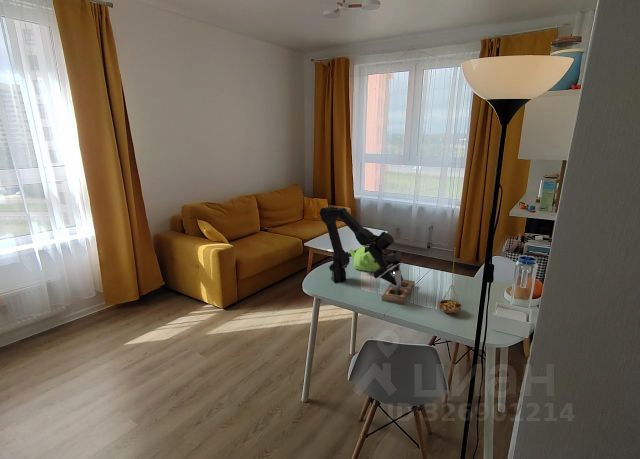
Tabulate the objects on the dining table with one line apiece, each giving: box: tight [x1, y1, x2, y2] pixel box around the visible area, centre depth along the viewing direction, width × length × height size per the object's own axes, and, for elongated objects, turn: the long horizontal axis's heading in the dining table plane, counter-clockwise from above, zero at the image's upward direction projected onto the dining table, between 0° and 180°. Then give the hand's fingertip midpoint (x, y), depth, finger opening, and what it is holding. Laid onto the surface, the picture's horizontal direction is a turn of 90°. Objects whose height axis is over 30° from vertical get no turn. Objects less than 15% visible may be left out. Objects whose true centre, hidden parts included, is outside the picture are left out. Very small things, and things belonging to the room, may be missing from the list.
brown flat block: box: [381, 279, 416, 306], centre depth 163 cm, size 22×10×3 cm, turn 153°
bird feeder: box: [438, 248, 462, 314], centre depth 141 cm, size 9×9×30 cm
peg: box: [391, 270, 402, 296], centre depth 157 cm, size 4×4×13 cm
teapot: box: [348, 245, 380, 273], centre depth 194 cm, size 18×20×13 cm
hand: (399, 282), depth 156 cm, fingers open, 6 cm apart
